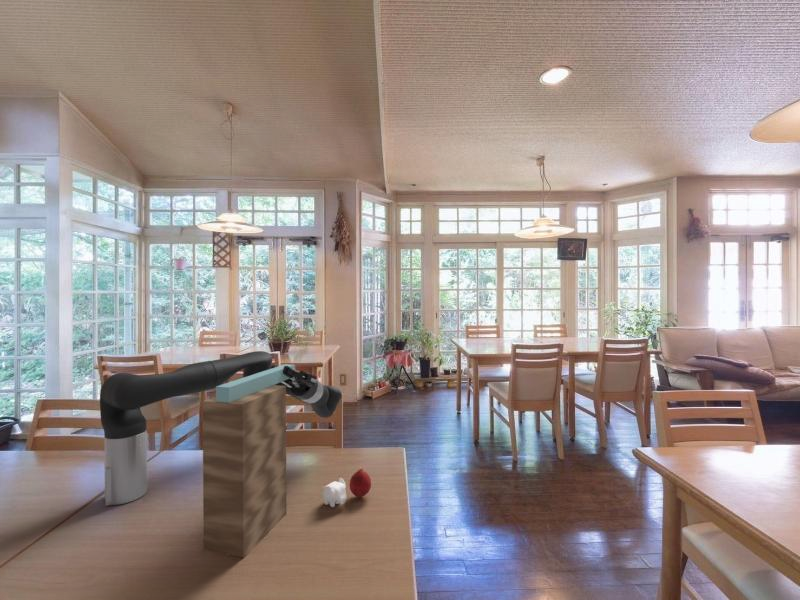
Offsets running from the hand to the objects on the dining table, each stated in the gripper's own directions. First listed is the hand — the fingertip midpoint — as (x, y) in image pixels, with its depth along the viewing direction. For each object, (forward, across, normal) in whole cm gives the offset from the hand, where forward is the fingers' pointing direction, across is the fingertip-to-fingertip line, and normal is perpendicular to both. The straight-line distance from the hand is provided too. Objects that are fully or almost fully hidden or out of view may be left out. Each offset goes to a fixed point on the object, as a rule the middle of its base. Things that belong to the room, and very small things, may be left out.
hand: (278, 369), depth 97 cm
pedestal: (-7, 0, +37) cm, 37 cm away
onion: (-24, +20, +27) cm, 41 cm away
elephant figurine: (-20, +15, +29) cm, 38 cm away
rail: (+5, 0, +6) cm, 8 cm away
